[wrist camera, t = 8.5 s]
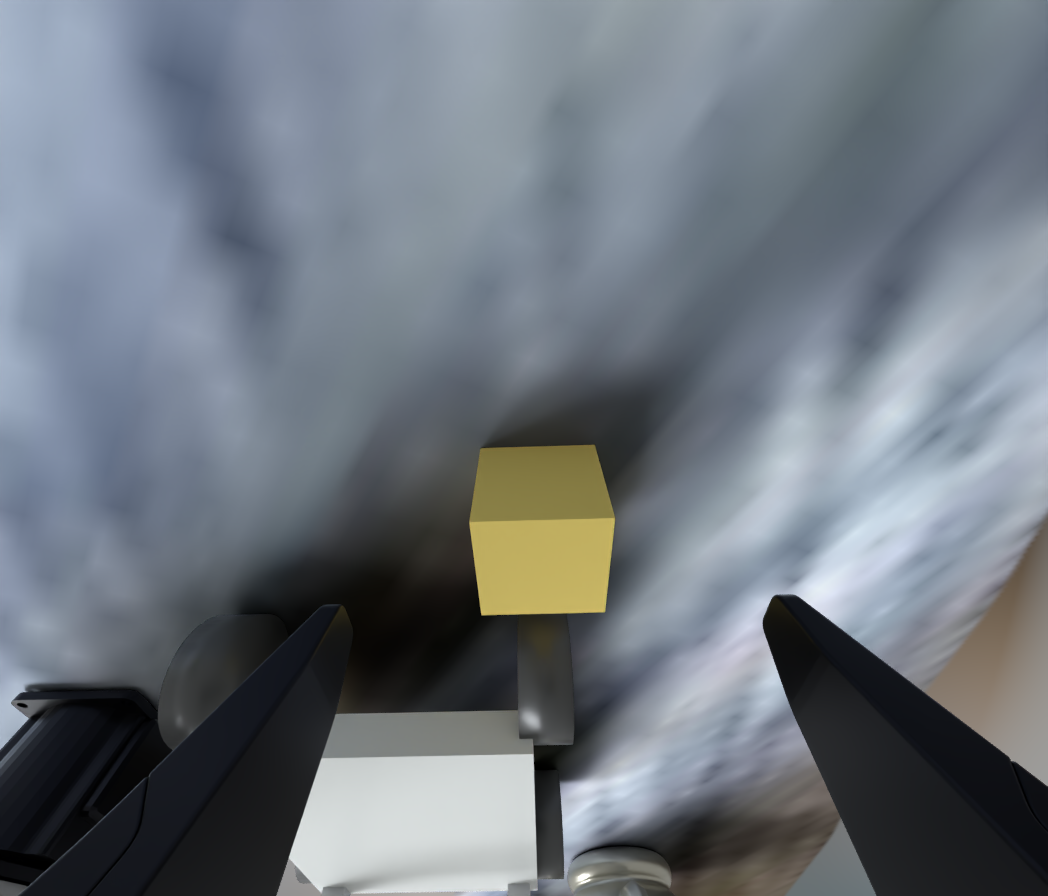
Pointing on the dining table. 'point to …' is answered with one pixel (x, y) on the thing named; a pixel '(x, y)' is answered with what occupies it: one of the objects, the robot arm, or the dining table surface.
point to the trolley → (409, 770)
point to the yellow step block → (541, 530)
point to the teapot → (620, 873)
